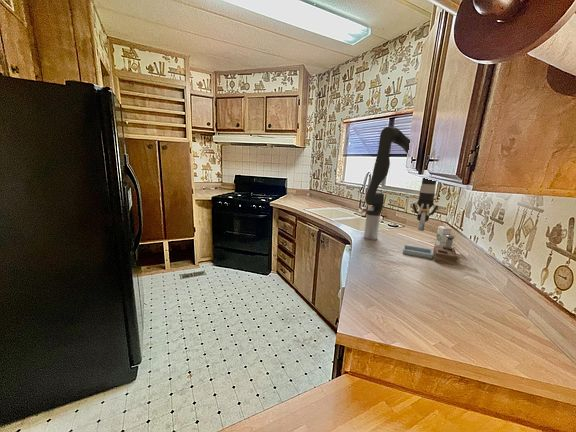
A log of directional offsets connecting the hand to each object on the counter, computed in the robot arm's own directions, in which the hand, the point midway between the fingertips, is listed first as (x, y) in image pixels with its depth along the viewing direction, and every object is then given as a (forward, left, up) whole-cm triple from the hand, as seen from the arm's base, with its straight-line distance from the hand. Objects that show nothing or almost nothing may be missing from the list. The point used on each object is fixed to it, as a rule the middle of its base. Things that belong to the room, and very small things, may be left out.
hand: (422, 220), depth 144 cm
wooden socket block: (0, +14, -21) cm, 25 cm away
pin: (-4, +16, -21) cm, 26 cm away
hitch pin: (0, 0, -6) cm, 6 cm away
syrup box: (-19, +14, -21) cm, 31 cm away
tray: (0, 0, -21) cm, 21 cm away
